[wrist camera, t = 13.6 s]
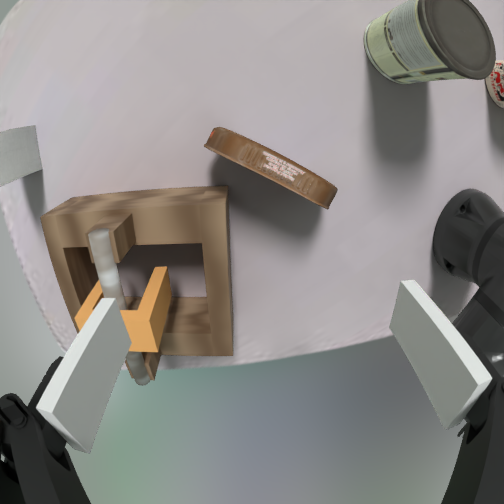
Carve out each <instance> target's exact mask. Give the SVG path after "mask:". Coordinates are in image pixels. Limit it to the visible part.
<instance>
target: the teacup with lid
mask: <svg viewBox="0 0 504 504" xmlns="http://www.w3.org/2000/svg"><path fill="white" fill-rule="evenodd" d="M485 80H486V85H487V88H488V91H489V94H490V96H491V98H492V99H493V101H494V102H495V103H496V104H497V105H498V106H500V107H501V108H504V60H503V61H495V66H494V69H493V71H492V73H491V74H490V75H489V76H488V77H487V78H485Z"/></svg>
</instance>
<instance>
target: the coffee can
mask: <svg viewBox="0 0 504 504" xmlns="http://www.w3.org/2000/svg"><path fill="white" fill-rule="evenodd" d="M364 45H365V50H366V53H367V55H368V57H369V59H370V61H371V62H372V64H373V65H374V67H375V68H376V69H377V70H378V71H379V72H380V73H381V74H382V75H383V76H385V77H386V78H388V79H389V80H391V81H394V82H396V83H400V84H412V83H417V82H426V81H435V80H449V79H467V78H469V79H475V80H481V79H485V78H487V77H488V76H489V75H490V74H491V73H492V71H493V69H494V66H495V61H496V52H495V45H494V41H493V37H492V34H491V32H490V30H489V27H488V25H487V23H486V22H485V20H484V18H483V17H482V15H481V14H480V13H479V11H478V10H477V9H476V7H475V6H474V5H473V4H472V3H471V2H470V1H469V0H408V1H406V2H405V3H403V4H401V5H399V6H398V7H396V8H394V9H392V10H391V11H389V12H387V13H386V14H384V15H382V16H381V17H379V18H377V19H375V20H373V21H372V22H371V23H370V24H369V25H368V26H367V28H366V30H365V34H364Z"/></svg>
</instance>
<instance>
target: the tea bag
mask: <svg viewBox="0 0 504 504" xmlns="http://www.w3.org/2000/svg"><path fill="white" fill-rule="evenodd" d="M39 170H42V164H41V158H40V153H39V147H38V141H37V134H36V127H35V125H34V126H27V127H21V128H15V129H9V130H6V131H3V132H0V186H3V185H5V184H7V183H10V182H12V181H14V180H17V179H19V178H22V177H24V176H26V175H29V174H31V173H34V172H36V171H39Z"/></svg>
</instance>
